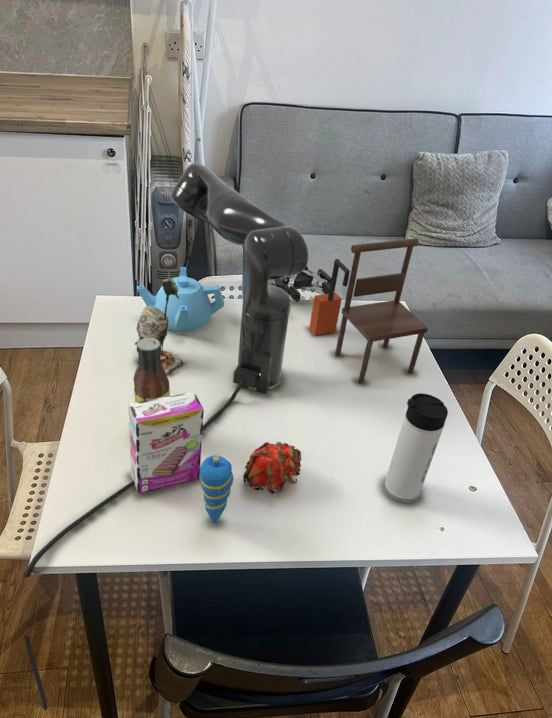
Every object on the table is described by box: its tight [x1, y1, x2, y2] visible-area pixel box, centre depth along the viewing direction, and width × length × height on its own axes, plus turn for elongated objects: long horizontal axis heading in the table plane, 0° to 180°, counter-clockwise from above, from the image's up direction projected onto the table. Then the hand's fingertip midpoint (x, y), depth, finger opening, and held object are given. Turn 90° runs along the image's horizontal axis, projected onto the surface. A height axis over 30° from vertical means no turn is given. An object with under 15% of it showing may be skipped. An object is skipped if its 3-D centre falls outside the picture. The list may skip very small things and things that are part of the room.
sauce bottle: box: [133, 338, 171, 403], centre depth 113 cm, size 7×6×20 cm
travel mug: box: [383, 392, 449, 504], centre depth 106 cm, size 6×7×20 cm
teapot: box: [136, 266, 225, 333], centre depth 147 cm, size 15×15×11 cm
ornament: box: [199, 454, 234, 524], centre depth 99 cm, size 5×5×15 cm
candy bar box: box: [128, 391, 205, 495], centre depth 105 cm, size 11×5×16 cm, turn 114°
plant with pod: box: [133, 277, 185, 374], centre depth 130 cm, size 8×11×20 cm
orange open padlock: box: [308, 258, 351, 336], centre depth 144 cm, size 8×6×19 cm
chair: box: [334, 237, 429, 385], centre depth 134 cm, size 12×15×27 cm
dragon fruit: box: [242, 441, 303, 495], centre depth 109 cm, size 8×8×12 cm
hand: (314, 296), depth 152 cm, fingers open, 8 cm apart
